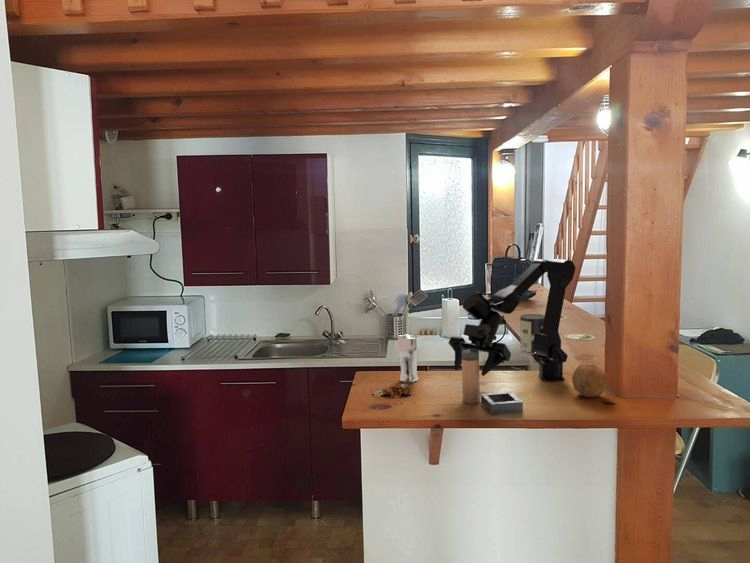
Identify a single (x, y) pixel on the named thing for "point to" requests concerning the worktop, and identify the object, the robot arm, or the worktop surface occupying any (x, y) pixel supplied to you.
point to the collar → (501, 403)
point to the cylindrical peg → (470, 376)
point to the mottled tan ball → (589, 380)
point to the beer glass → (408, 357)
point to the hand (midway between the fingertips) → (468, 372)
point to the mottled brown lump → (394, 390)
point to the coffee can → (529, 331)
